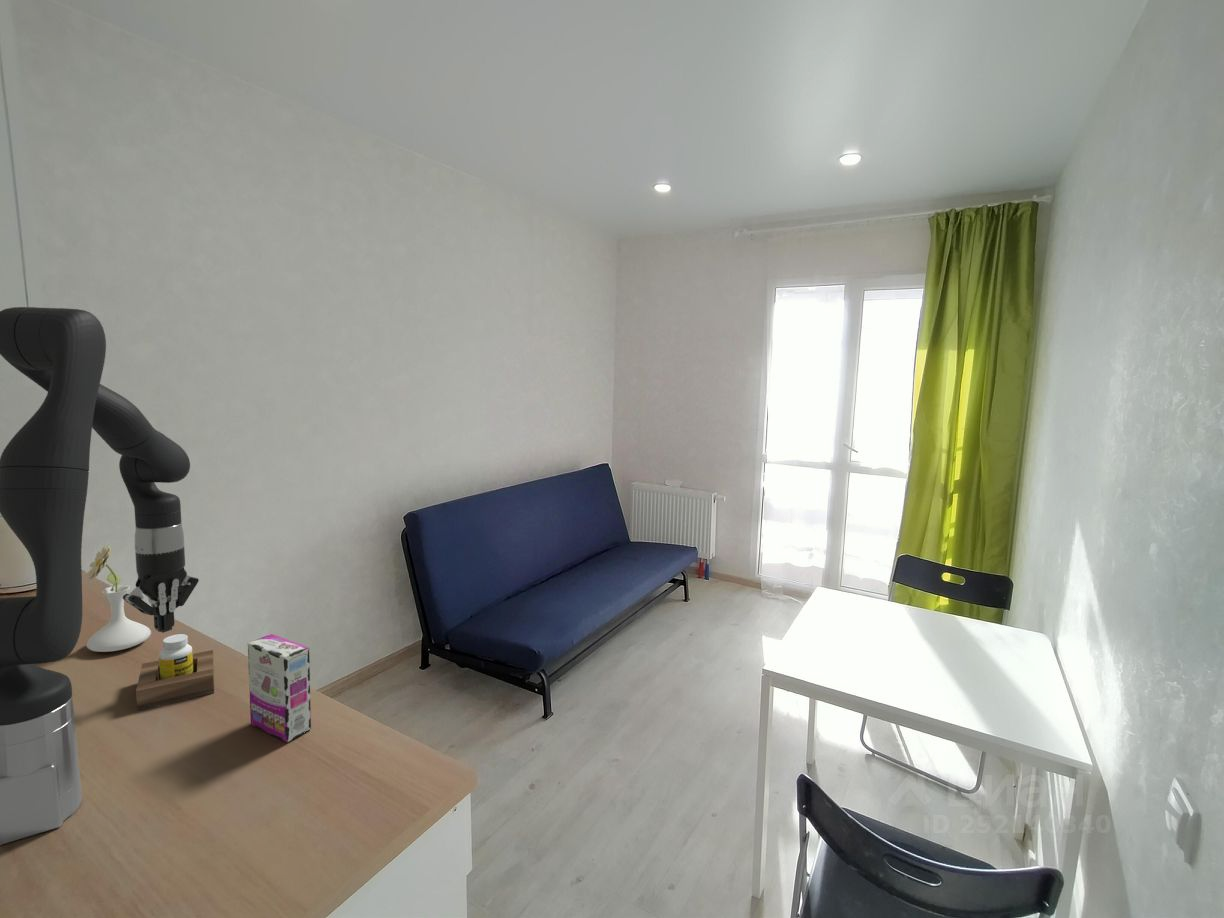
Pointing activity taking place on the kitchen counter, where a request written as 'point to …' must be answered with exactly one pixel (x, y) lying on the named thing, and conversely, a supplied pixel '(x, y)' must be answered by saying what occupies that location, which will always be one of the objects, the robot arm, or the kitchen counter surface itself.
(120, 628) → the flower in vase
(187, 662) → the supplement bottle
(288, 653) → the candy bar box
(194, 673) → the socket block
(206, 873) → the kitchen counter surface
